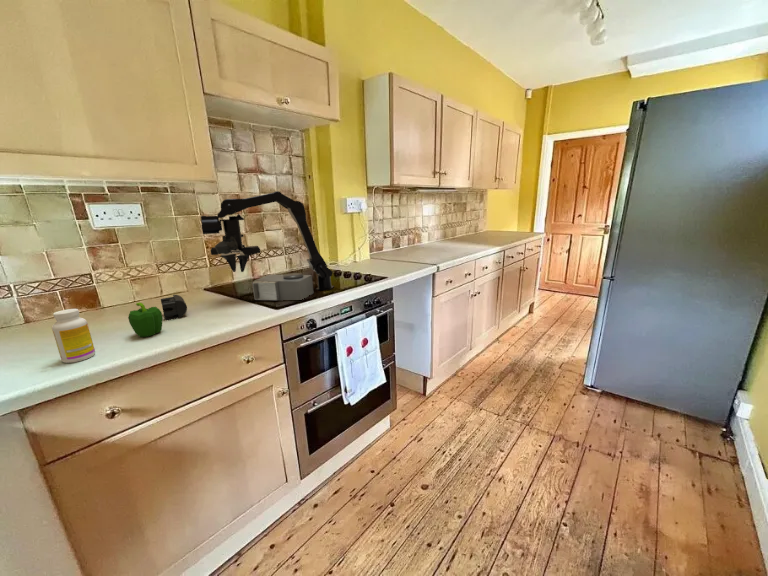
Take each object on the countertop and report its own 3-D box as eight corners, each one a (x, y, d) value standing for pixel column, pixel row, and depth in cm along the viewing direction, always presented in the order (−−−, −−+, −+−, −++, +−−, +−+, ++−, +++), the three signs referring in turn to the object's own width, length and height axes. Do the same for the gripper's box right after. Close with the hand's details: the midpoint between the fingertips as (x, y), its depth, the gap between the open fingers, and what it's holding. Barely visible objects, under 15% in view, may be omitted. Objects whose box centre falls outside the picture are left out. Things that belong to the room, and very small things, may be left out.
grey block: (272, 292, 147) (269, 272, 145) (313, 293, 143) (311, 272, 140) (256, 299, 136) (253, 278, 134) (300, 301, 131) (298, 278, 129)
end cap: (189, 316, 117) (185, 298, 115) (165, 321, 113) (161, 302, 112) (185, 310, 125) (182, 293, 123) (163, 314, 121) (160, 296, 119)
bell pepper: (168, 333, 101) (161, 302, 99) (135, 341, 96) (127, 309, 93) (162, 327, 107) (155, 297, 105) (131, 334, 102) (123, 303, 99)
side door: (257, 298, 135) (255, 281, 133) (279, 299, 133) (277, 281, 131) (253, 300, 132) (251, 282, 131) (275, 300, 130) (273, 283, 128)
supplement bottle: (102, 353, 89) (90, 307, 85) (74, 364, 82) (60, 316, 79) (84, 351, 90) (71, 306, 87) (55, 362, 84) (40, 314, 81)
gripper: (196, 234, 123) (203, 275, 127) (240, 234, 119) (246, 276, 123) (217, 232, 133) (223, 270, 137) (258, 231, 129) (263, 270, 133)
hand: (238, 271), depth 132 cm, fingers open, 3 cm apart
